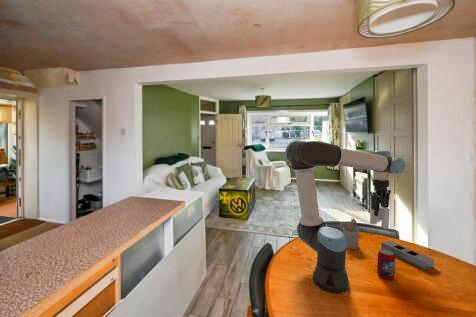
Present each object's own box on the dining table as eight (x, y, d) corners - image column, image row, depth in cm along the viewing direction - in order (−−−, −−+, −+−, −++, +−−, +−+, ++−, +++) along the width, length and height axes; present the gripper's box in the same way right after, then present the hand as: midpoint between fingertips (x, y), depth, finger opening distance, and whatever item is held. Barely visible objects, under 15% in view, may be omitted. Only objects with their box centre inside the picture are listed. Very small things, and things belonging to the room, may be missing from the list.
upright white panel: (388, 227, 117) (389, 208, 116) (384, 228, 116) (385, 209, 115) (373, 222, 125) (374, 204, 124) (370, 223, 124) (370, 205, 123)
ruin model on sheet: (353, 231, 151) (353, 217, 150) (356, 233, 148) (356, 219, 147) (338, 232, 149) (339, 219, 148) (341, 234, 146) (341, 220, 145)
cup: (360, 249, 126) (360, 232, 125) (344, 248, 128) (345, 231, 127) (355, 242, 134) (356, 227, 133) (341, 241, 136) (341, 226, 135)
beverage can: (386, 282, 97) (387, 256, 96) (373, 273, 104) (374, 249, 103) (398, 279, 99) (399, 254, 98) (384, 270, 106) (385, 247, 105)
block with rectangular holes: (424, 270, 105) (425, 262, 105) (381, 249, 126) (381, 242, 126) (433, 267, 108) (434, 259, 108) (389, 246, 128) (389, 240, 128)
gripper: (377, 181, 112) (375, 225, 114) (398, 178, 117) (396, 221, 119) (364, 179, 119) (362, 220, 121) (384, 176, 124) (382, 216, 126)
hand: (379, 220), depth 120 cm, fingers closed on upright white panel, 3 cm apart
